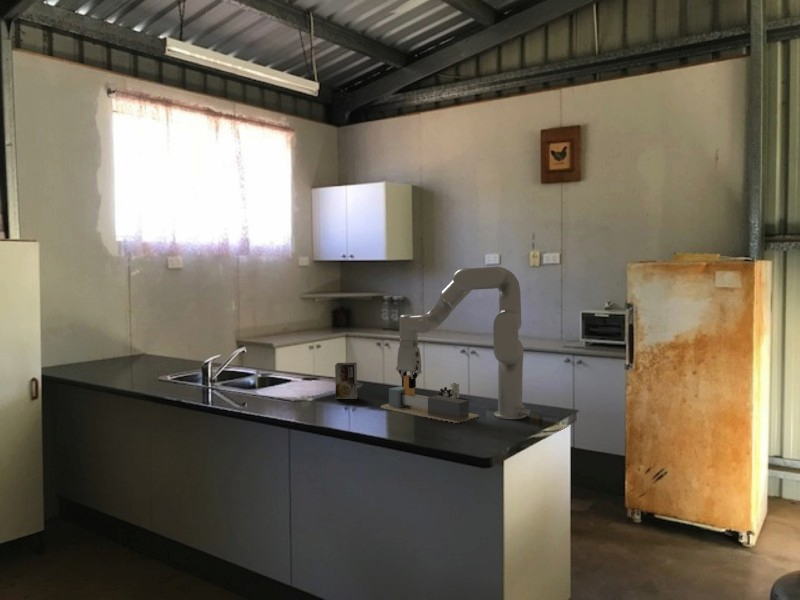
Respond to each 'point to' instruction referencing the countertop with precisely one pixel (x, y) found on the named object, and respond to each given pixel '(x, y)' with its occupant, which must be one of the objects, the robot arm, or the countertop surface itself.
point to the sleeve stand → (439, 409)
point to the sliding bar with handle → (412, 395)
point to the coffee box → (346, 380)
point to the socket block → (396, 396)
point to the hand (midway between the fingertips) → (408, 386)
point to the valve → (451, 391)
